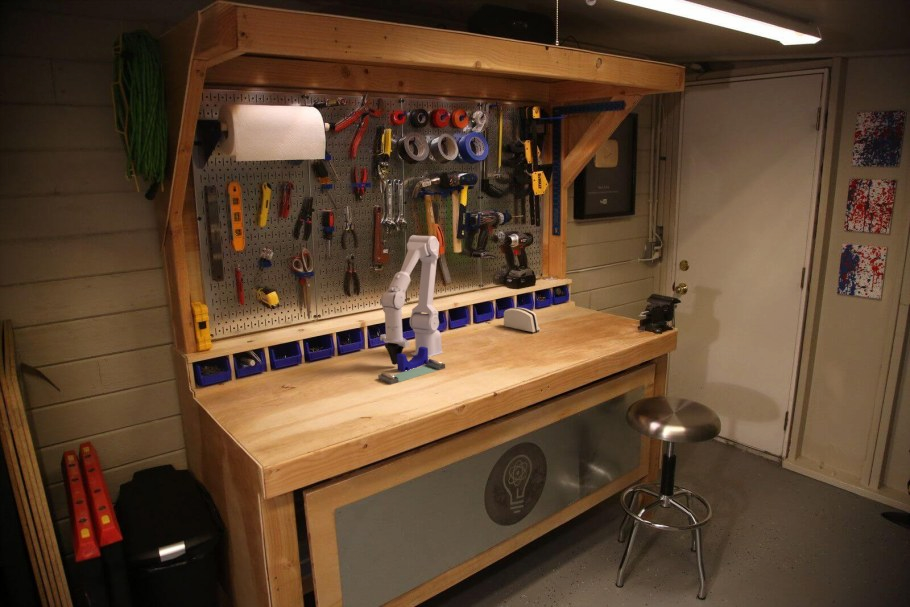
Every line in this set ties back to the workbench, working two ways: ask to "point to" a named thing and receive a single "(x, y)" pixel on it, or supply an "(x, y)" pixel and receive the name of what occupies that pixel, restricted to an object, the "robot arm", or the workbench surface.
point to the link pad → (413, 373)
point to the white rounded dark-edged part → (521, 319)
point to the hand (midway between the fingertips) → (395, 363)
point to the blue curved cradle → (412, 360)
